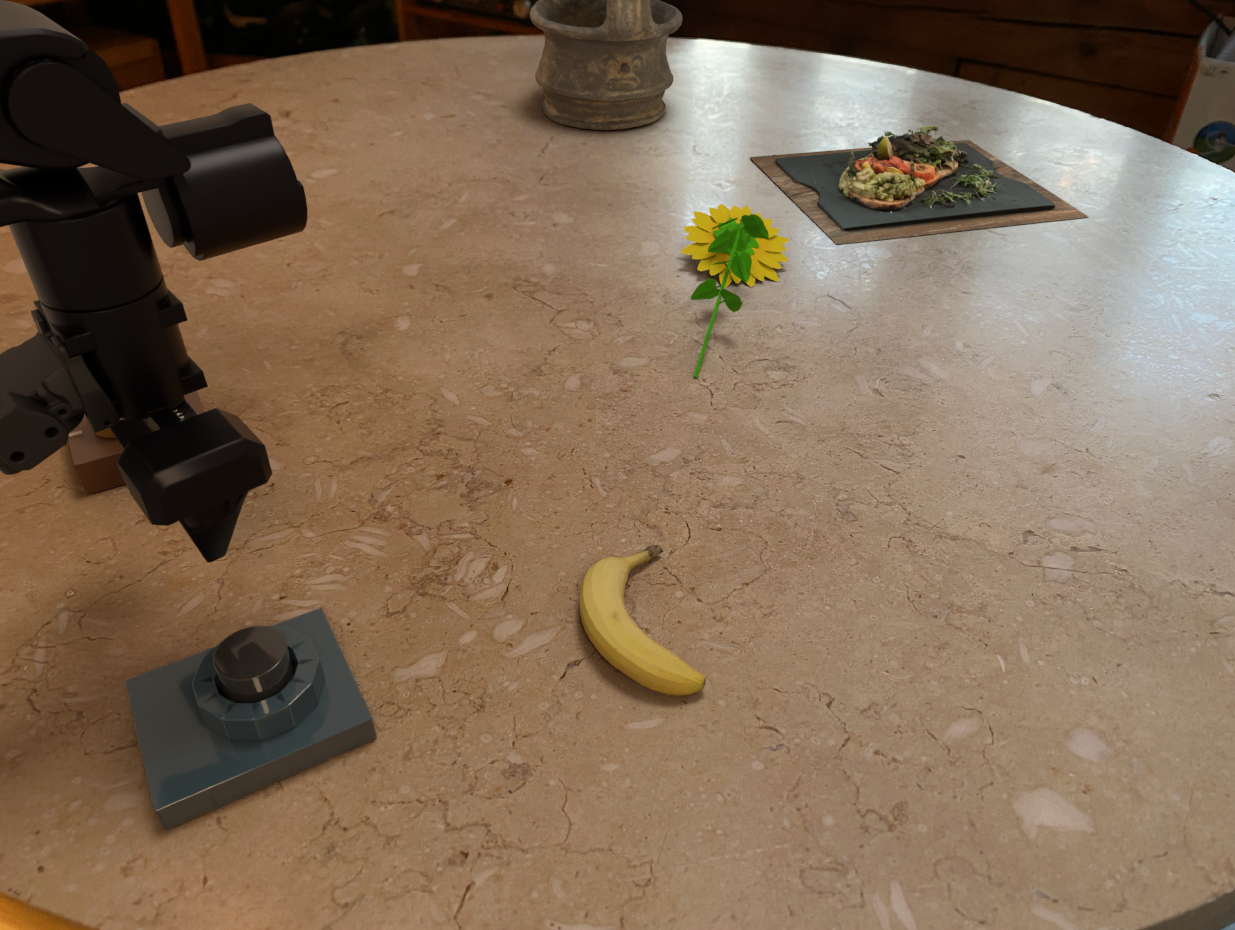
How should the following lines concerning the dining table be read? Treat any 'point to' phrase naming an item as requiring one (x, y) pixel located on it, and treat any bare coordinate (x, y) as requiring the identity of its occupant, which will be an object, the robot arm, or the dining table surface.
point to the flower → (732, 254)
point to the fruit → (630, 630)
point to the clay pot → (604, 61)
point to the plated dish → (911, 189)
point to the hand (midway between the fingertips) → (184, 516)
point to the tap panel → (103, 454)
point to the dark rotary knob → (253, 664)
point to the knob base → (244, 724)
